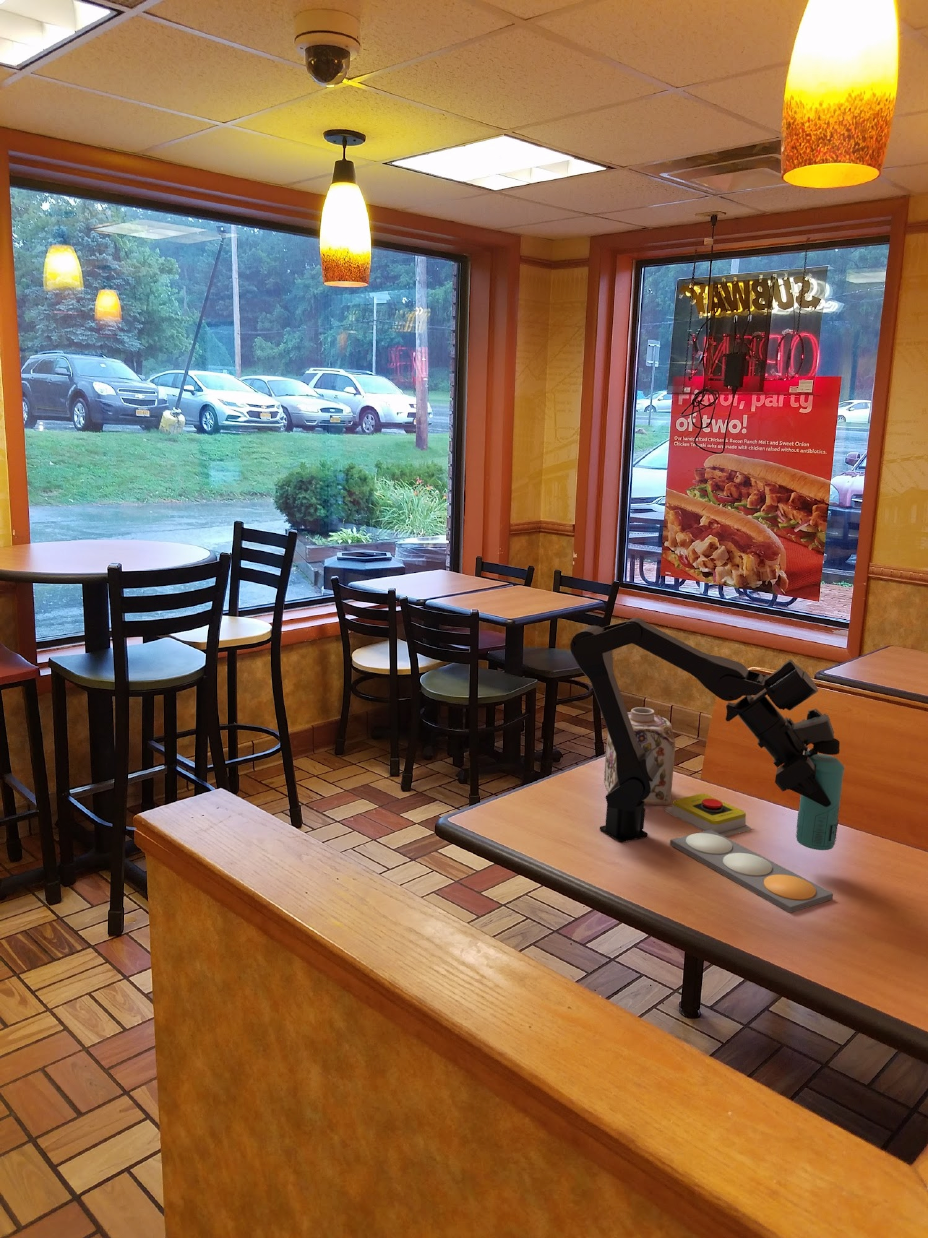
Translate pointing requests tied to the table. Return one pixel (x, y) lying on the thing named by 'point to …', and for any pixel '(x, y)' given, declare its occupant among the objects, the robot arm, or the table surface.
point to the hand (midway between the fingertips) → (829, 798)
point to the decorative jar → (653, 737)
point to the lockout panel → (752, 871)
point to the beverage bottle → (814, 818)
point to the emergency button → (709, 814)
